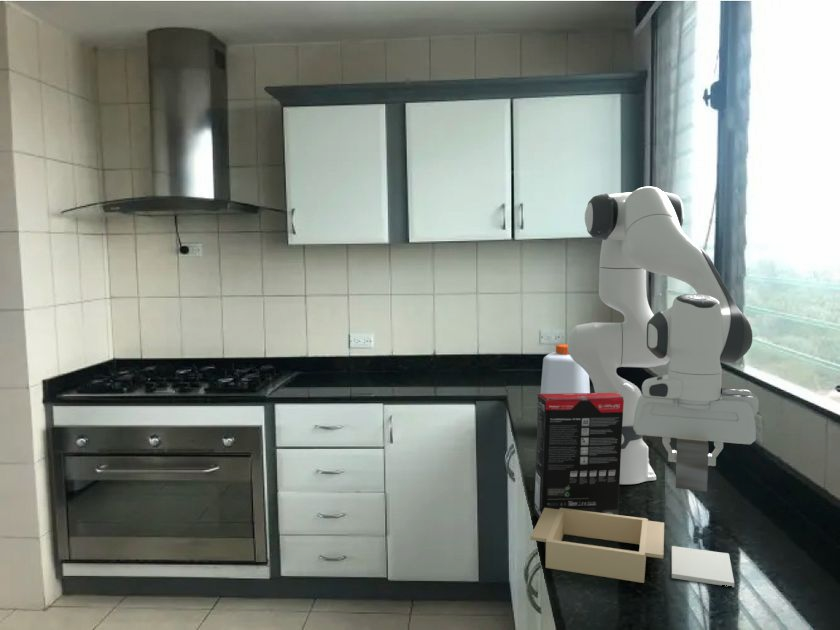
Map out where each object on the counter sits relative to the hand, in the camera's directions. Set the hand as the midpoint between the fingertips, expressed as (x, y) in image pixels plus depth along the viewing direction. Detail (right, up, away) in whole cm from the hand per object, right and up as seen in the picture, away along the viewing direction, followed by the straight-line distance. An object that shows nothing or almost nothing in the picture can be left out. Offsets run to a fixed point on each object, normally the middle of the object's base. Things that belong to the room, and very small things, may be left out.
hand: (691, 462), depth 124 cm
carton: (-15, -19, +7) cm, 25 cm away
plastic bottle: (-4, -11, +89) cm, 90 cm away
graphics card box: (-15, -17, +24) cm, 33 cm away
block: (0, -3, 0) cm, 3 cm away
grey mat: (+2, -19, +1) cm, 19 cm away
